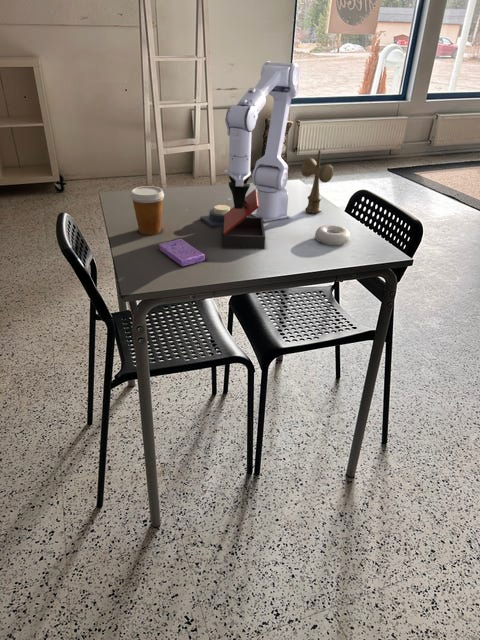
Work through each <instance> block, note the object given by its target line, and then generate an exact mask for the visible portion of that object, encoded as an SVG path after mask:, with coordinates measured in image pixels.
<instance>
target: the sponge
mask: <svg viewBox="0 0 480 640" xmlns="http://www.w3.org/2000/svg"><path fill="white" fill-rule="evenodd" d="M158 246H159V251H160V252H162V253H163V254H165V255H166V256H167V257H169V258H170V259H171V260H173V261H174V262H176V263H177V264H178V265H180V266H182V267H185V266H186V267H187V266H189V265H193V264H197V263H201V262H204V261H205V260H206V256H205V254H204V253H203V252H201V251H200V250H198V249H196V248H195V247H193V246H192V245H190V243H188V242H187V241H185V240H184V239H182V238H178V239H173V240H170V241H167V242H161V243H158Z"/></svg>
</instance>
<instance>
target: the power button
mask: <svg viewBox="0 0 480 640" xmlns="http://www.w3.org/2000/svg"><path fill="white" fill-rule="evenodd" d="M213 209H214V213H215V214H219V215H225V214H226V213H227V212H228V211H229V210H230V209H231V207H230V206H229V205H227V204H217V205H215V206H214V208H213Z"/></svg>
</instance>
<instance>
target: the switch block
mask: <svg viewBox="0 0 480 640" xmlns="http://www.w3.org/2000/svg"><path fill="white" fill-rule="evenodd" d="M231 209H232V208H230V210H231ZM224 216H225V215H219V214H215V213H214V208H212V209H209V214H207V215H201V216H200V220H201V221H202V222H203V223H205V224H206V225H207V226H209V227H210V228H219V227H224Z"/></svg>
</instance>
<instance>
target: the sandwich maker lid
mask: <svg viewBox="0 0 480 640" xmlns="http://www.w3.org/2000/svg"><path fill="white" fill-rule="evenodd" d="M257 192H258V189H256V188H254V189H253V190H252V191H251V192H250V193H248V194H246V196H245V200H244V205H243V208H242V209H235V207H234V206H233V207H232V208H230V209H231V210H229V211H228V212H227V213H226V214H225V216H224V226H223V236H224V235H226V234H227V233H228V232H229V231H231V230H232V229H233V228H234V227H235V226H237V225H238V224H239V223H240V222H242V221H243V220H244V219H245V218H246V217H250V216H251V213H253V212H256V211H257V208H259V205H258V197H257Z"/></svg>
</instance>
